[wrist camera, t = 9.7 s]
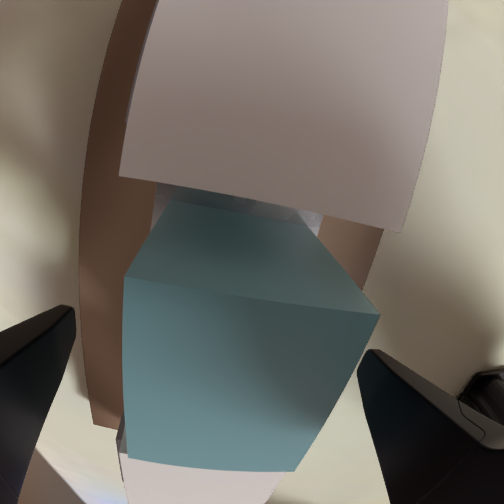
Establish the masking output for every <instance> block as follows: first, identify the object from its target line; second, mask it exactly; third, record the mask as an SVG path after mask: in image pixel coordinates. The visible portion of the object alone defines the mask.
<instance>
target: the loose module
mask: <svg viewBox="0 0 504 504" xmlns="http://www.w3.org/2000/svg"><path fill="white" fill-rule="evenodd" d="M379 317H380V313H379V312H378V311H377V310H376V308H375V307H374V306H373V305H372V303H371V302H370V301H369V300H368V298H367V297H366V296H365V294H364V293H363V292H362V291H361V290H360V288H359V287H358V286H357V285H356V283H355V282H354V281H353V280H352V278H351V277H350V276H349V275H348V274H347V272H346V271H345V270H344V269H343V267H342V266H341V265H340V264H339V263H338V261H337V260H336V259H335V258H334V257H333V255H332V254H331V253H330V252H329V251H328V249H327V248H326V247H325V246H324V245H323V244H322V242H321V241H320V240H319V239H318V238H317V237H316V235H315V234H314V233H313V232H312V231H311V230H310V228H309V227H307V226H303V225H298V224H293V223H288V222H283V221H278V220H273V219H268V218H263V217H258V216H253V215H248V214H243V213H238V212H232V211H227V210H222V209H216V208H211V207H206V206H200V205H195V204H189V203H183V202H178V201H172V200H170V201H169V203H168V205H167V206H166V208H165V209H164V211H163V212H162V214H161V216H160V217H159V219H158V220H157V222H156V224H155V225H154V227H153V228H152V230H151V232H150V233H149V235H148V237H147V238H146V240H145V242H144V243H143V245H142V247H141V248H140V250H139V252H138V253H137V255H136V257H135V258H134V260H133V262H132V264H131V265H130V267H129V269H128V271H127V272H126V274H125V276H124V292H123V321H122V371H123V399H124V416H125V430H126V442H127V452H128V458H132V459H137V460H142V461H148V462H154V463H160V464H166V465H174V466H181V467H190V468H199V469H210V470H224V471H245V472H292V471H295V469H296V468H297V466H298V465H299V463H300V462H301V460H302V459H303V457H304V456H305V454H306V453H307V451H308V449H309V448H310V446H311V445H312V443H313V442H314V440H315V438H316V437H317V435H318V433H319V432H320V430H321V428H322V427H323V425H324V423H325V422H326V420H327V418H328V417H329V415H330V413H331V411H332V410H333V408H334V406H335V404H336V403H337V401H338V399H339V397H340V395H341V394H342V392H343V390H344V388H345V386H346V384H347V382H348V381H349V379H350V377H351V375H352V373H353V371H354V369H355V367H356V365H357V363H358V361H359V359H360V357H361V355H362V353H363V351H364V349H365V347H366V345H367V343H368V341H369V339H370V336H371V334H372V332H373V330H374V328H375V326H376V323H377V321H378V319H379Z"/></svg>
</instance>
